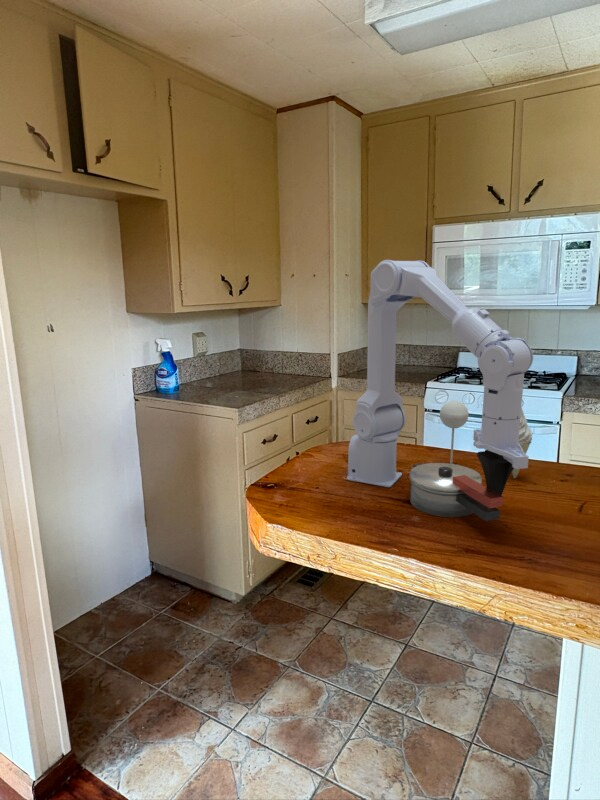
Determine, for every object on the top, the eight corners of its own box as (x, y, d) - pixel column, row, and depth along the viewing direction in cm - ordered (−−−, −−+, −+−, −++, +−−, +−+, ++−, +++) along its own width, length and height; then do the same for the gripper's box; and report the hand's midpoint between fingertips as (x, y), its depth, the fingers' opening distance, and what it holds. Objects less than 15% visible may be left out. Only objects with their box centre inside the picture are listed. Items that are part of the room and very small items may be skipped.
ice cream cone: (530, 483, 106) (537, 410, 102) (503, 481, 107) (509, 409, 103) (525, 474, 111) (531, 404, 107) (499, 472, 112) (505, 404, 108)
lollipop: (433, 463, 118) (436, 398, 114) (458, 462, 118) (462, 397, 115) (442, 473, 112) (446, 404, 108) (469, 472, 112) (474, 404, 109)
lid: (397, 471, 100) (397, 461, 100) (454, 463, 104) (454, 454, 103) (462, 515, 81) (462, 503, 81) (528, 503, 85) (529, 492, 85)
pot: (384, 517, 91) (385, 492, 90) (415, 481, 107) (415, 460, 106) (496, 541, 83) (498, 513, 82) (511, 498, 99) (513, 475, 98)
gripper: (458, 405, 90) (454, 479, 94) (499, 429, 76) (492, 515, 80) (497, 404, 91) (492, 477, 94) (544, 427, 77) (536, 512, 80)
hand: (495, 495), depth 87 cm, fingers closed, pressing on lid
